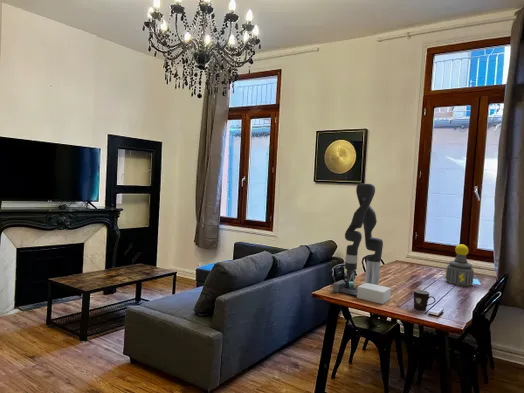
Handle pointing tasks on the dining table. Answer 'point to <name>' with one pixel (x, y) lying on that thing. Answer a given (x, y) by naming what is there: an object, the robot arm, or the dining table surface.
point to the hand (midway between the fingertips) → (348, 287)
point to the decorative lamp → (460, 268)
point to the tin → (350, 285)
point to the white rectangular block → (374, 293)
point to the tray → (340, 288)
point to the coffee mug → (421, 299)
